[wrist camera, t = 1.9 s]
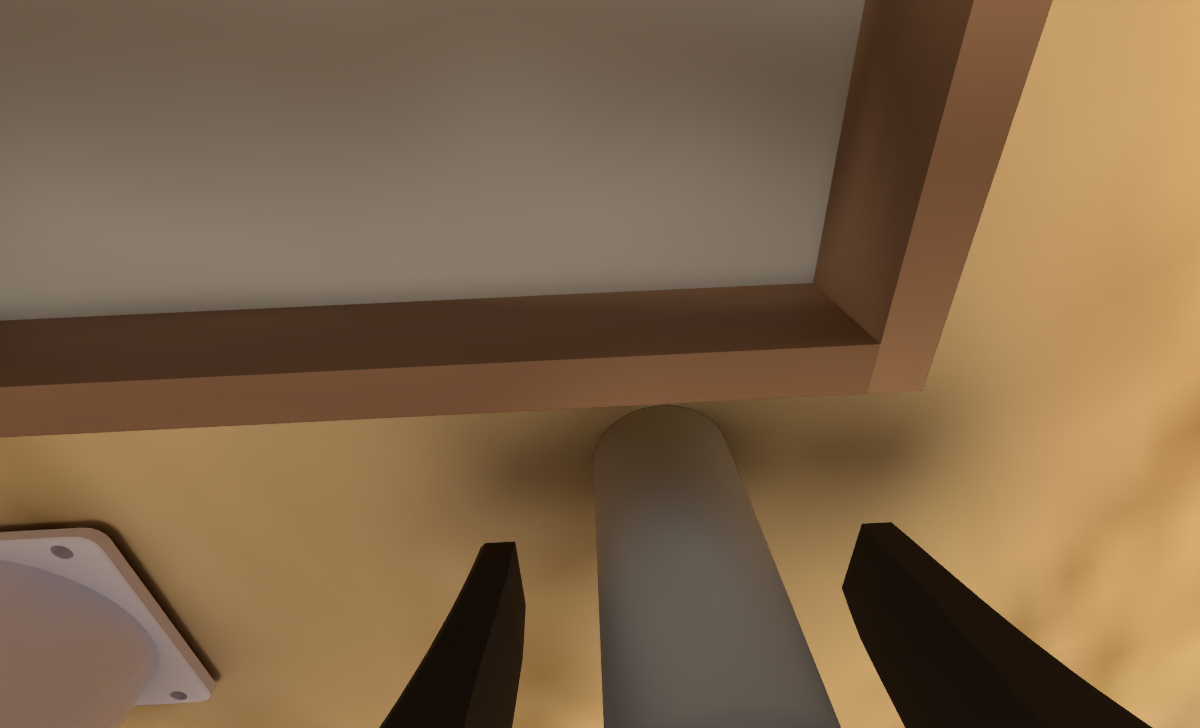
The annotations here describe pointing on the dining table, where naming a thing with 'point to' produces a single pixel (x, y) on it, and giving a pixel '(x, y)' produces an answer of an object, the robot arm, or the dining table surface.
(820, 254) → the box
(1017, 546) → the dining table surface
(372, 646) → the dining table surface
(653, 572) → the peg
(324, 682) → the dining table surface
